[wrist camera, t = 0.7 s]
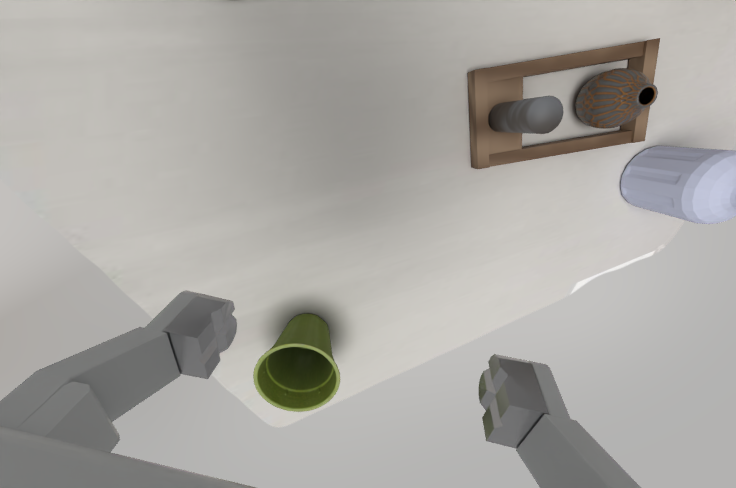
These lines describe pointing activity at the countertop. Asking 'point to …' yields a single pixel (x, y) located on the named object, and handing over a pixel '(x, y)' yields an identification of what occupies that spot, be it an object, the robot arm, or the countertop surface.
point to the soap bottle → (683, 183)
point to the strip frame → (542, 107)
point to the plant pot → (299, 367)
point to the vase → (615, 98)
